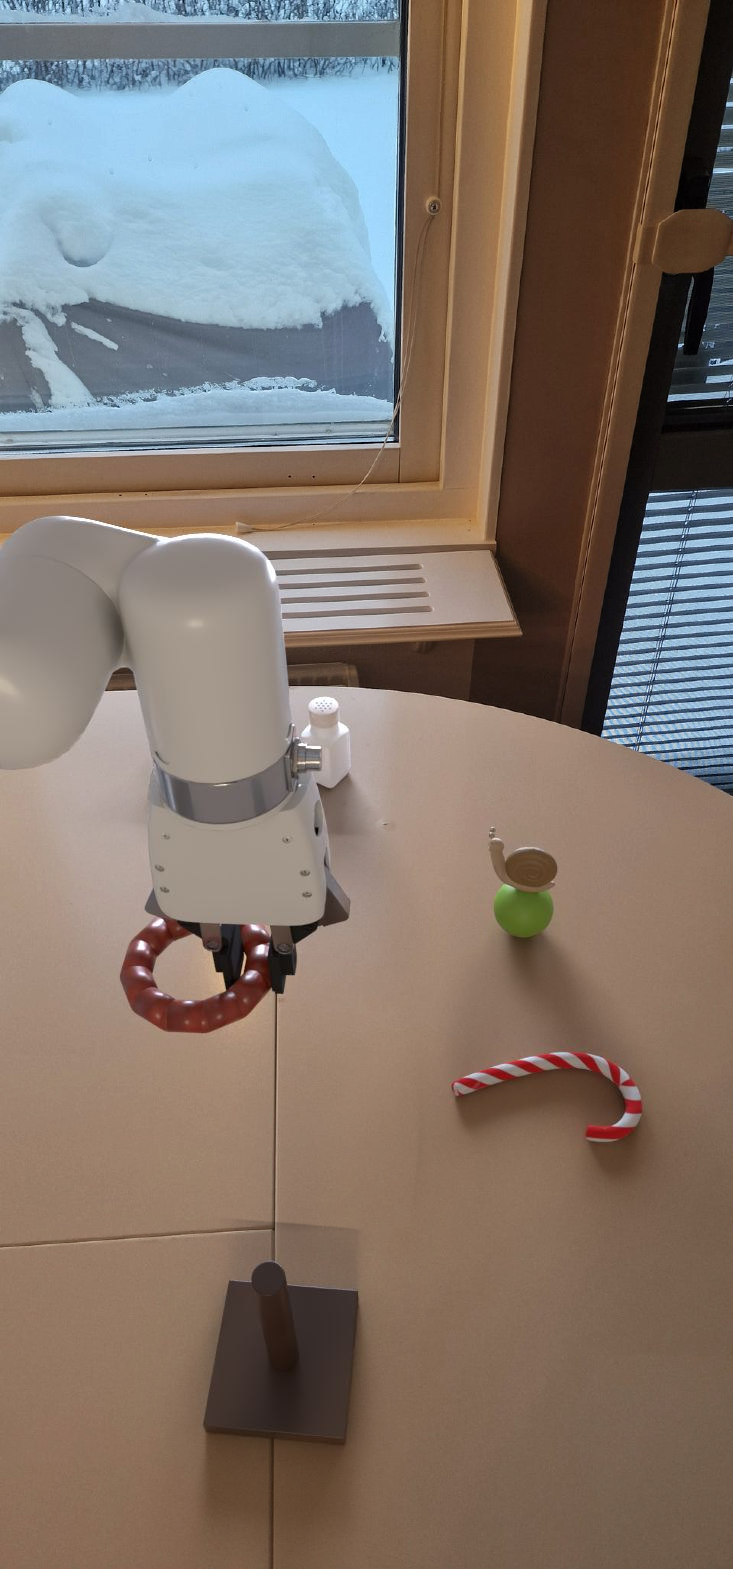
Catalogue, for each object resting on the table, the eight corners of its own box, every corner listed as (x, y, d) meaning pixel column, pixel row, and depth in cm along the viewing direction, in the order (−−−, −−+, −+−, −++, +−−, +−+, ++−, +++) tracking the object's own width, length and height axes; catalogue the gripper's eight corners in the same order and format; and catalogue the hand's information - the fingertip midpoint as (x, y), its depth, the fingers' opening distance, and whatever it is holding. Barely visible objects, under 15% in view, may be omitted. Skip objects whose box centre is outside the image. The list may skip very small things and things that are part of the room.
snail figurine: (484, 899, 99) (492, 808, 91) (552, 908, 98) (566, 817, 90) (477, 943, 95) (485, 852, 87) (548, 953, 94) (562, 862, 86)
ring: (108, 1035, 65) (102, 1016, 64) (144, 914, 72) (139, 895, 71) (266, 1042, 64) (263, 1023, 63) (286, 919, 72) (283, 899, 70)
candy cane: (450, 1048, 85) (633, 1049, 85) (449, 1057, 86) (630, 1058, 86) (454, 1135, 80) (650, 1136, 79) (453, 1143, 80) (647, 1145, 80)
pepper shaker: (302, 778, 113) (296, 709, 106) (323, 758, 115) (319, 689, 109) (331, 792, 111) (327, 722, 104) (353, 771, 113) (350, 702, 107)
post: (205, 1432, 66) (174, 1354, 57) (231, 1287, 73) (207, 1196, 64) (345, 1445, 65) (336, 1368, 56) (358, 1298, 72) (353, 1208, 63)
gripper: (379, 723, 58) (383, 935, 70) (97, 716, 59) (150, 926, 71) (370, 816, 52) (377, 1028, 65) (59, 807, 53) (124, 1018, 66)
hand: (258, 973), depth 68 cm, fingers closed on ring, 2 cm apart
